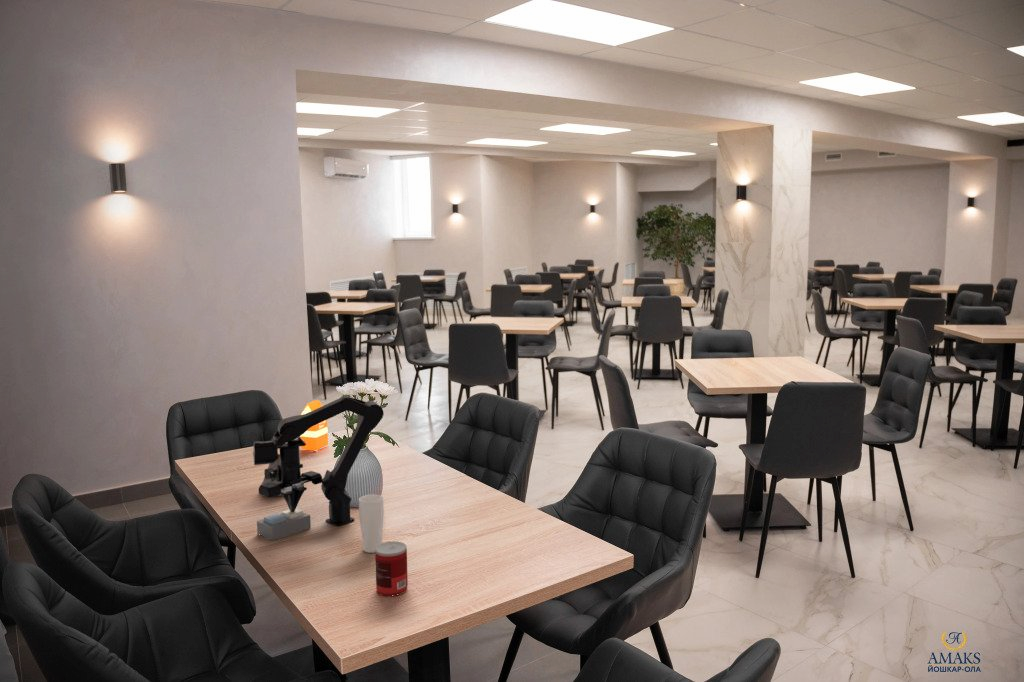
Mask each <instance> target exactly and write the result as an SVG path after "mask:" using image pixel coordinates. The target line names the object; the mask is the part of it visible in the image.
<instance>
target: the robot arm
mask: <svg viewBox="0 0 1024 682" xmlns="http://www.w3.org/2000/svg"><path fill="white" fill-rule="evenodd" d="M346 411H349V412H351V413H354V414H356V415H357V416H358V417H357V422H356V427H355V429H354V431H353V433H352V434H351V436H350V438H349V440H348V443H347V444H346V447H345V448H344V450H343V452H342V454H341V456H340V458H339V460H338V462H337V463H336V466H335V467H334V468H333V469H332V470H331V471H330V469H329V470H328V469H326V471H325V473H324V476H322V474H321V473H320V472H316V471H312V470H310V471H305V472H303V473H301V469H303V468H304V464H303V463H301V455H300V453H301V452H300V451H301V449H300V447H301V446H306V443H305V441H303V440H302V439H301V437H300V436H301V435H302V434H304V433H305V432H306V431H307V430H308V429H309V428H311V427H312V426H314V425H316V424H319V423H321V422H323V421H325V420H327V421H328V420H329V419H331V418H334V417H335V416H338V415H340V414H343V413H344V412H346ZM383 417H384V410H383V407H382V406H381V405H379V404H378V403H377V402H375V401H373V400H368V401H364V400H362V399H358V398H355V397H351V396H349V395H347V394H346V395H344V394H343V395H341V397H339V398H337V399H335V400H333V401H331V402H328V403H327V404H324V405H322V407H320V408H317V409H315V410H313V411H311V412H309V413H306V414H303V415H301V414H298V415H293V416H289V417H286V418H283V419H281V420H280V421H279V422H278V425H277V430H276V432H275V433H274V434H273V436H272V438H271V440H267V441H258V440H257V441H253V450H252V457H253V465H254V466H261V465H269V464H271V463H274V461H276V459H278V454H280V464H278V466H277V469H276V470H273V468H268V467H267V468H265V469H264V472H263V473H264V474H263V475H264V477H265V479H266V480H267V479H271V482H269V483H266V484H262V483H261V484H260V485H259V486H258V495H260V496H262V497H265V498H274V497H275V498H276V497H280V496H279V495H280V494H282V495H283V496H282V497H283V498H284V500H285V502H286V505H287V507H288V510H289V509H290V511H291V512H294V511H295V509H297V506H298V504H299V501H300V500H301V498H302V496H303V495H304V492H305V491H306V490H307V489H308V488H307V487H305V485H304V484H306V483H309V482H311V484H312V485H315V486H316V485H318V484H319V485H320V484H321V485H320V488H321V489H320V490H321V491H322V493H323V495H324V497H325V498H326V499H327V500H328V513H329V514H328V517H329V518H326V519H325V523H326V522H327V523H329V524H332V525H334V526H337V527H340V526H343V525H345V524H348V523H351V522H354V521H355V518H354V517H351V505H350V504H351V502H352V498H351V496H350V494H349V493H348V491H347V490H346V487H347V482H348V476H349V473H350V471H351V469H352V467H353V466H354V463H355V461H356V460H357V457H358V456H359V453H360V452H361V449H362V448H363V446H364V444H365V442H366V440H367V438H368V436H369V434H370V433H371V432H372V431H373V430H375V428H376V427H377V426H378V424H379V423H380V422H381V421H382V419H383ZM278 449H279V451H278ZM278 452H279V453H278ZM275 480H277V482H281V483H280V484H275V483H272V481H275ZM288 484H289V485H288Z"/></svg>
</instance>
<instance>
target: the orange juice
mask: <svg viewBox="0 0 1024 682" xmlns="http://www.w3.org/2000/svg"><path fill="white" fill-rule="evenodd" d="M322 406H323V405H322V403H321V401H320V400H319V399H316V400H313V401H311V402H308V403H306V406H305V407H304V409H303V410H302V412H301V413H300V415H303V414H306V413H309V412H311V411H313V410H315V409H317V408H320V407H322ZM328 432H329V431H328V419H327V420H325V421H323V422H321V423H319V424H316V425H314V426H312V427H311V428H309V429H308V430H307V431H306V432H305V433H304V434H302V435H301V436H299V437H300V438H301V439H302V440H303V441H305V443H306V446H300V450H301V449H306V450H318V449H320V448H322V447H324V446H326V445H328V446H329V438H328V437H329V435H328Z"/></svg>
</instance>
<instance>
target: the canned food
mask: <svg viewBox="0 0 1024 682" xmlns="http://www.w3.org/2000/svg"><path fill="white" fill-rule="evenodd" d="M374 556H375V557H374V558H375V559H374V561H375V563H374V564H375V588H376V592H377V594H378V595H380V594H382V595H386V596H385V597H388V596H391V597H393V596H392V595H397V594H400V593H402V592H404V591H405V590H406V591H407V589H408V582H409V581H408V579H409V578H408V550H407V544H406V543H404V542H401V541H395V540H394V541H393V540H392V541H386V542H382V544H380V545H378V546H377V547H376V548H375V553H374ZM406 591H405V592H406ZM405 592H404V593H405ZM402 594H403V593H402ZM382 595H381V596H382ZM400 595H401V594H400ZM397 596H398V595H397Z"/></svg>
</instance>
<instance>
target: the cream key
mask: <svg viewBox="0 0 1024 682" xmlns="http://www.w3.org/2000/svg"><path fill="white" fill-rule="evenodd" d="M281 513H282V515H283V516H286V518H287V519H294V518H297V517H300V516H303V513H304V511H303V510H301V509H299V508H296V509H295V511H294V512H291V511H290V509H289V508H288V509H286V510H284V511H281Z"/></svg>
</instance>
